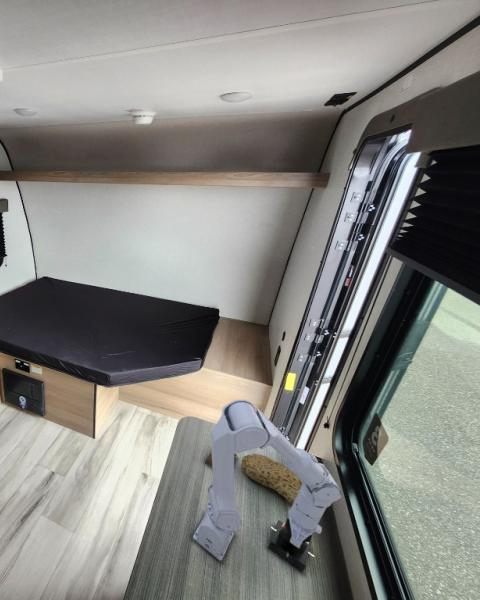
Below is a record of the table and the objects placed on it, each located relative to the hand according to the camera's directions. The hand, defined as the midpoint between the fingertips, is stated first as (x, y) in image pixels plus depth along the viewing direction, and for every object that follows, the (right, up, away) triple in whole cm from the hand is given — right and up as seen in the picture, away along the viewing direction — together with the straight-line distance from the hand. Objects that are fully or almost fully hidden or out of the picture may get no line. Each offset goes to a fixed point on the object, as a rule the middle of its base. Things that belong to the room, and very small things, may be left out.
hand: (292, 540), depth 83 cm
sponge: (+7, +4, +19) cm, 20 cm away
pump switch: (-7, +8, +27) cm, 29 cm away
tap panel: (0, -3, +1) cm, 3 cm away
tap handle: (0, 0, 0) cm, 0 cm away
